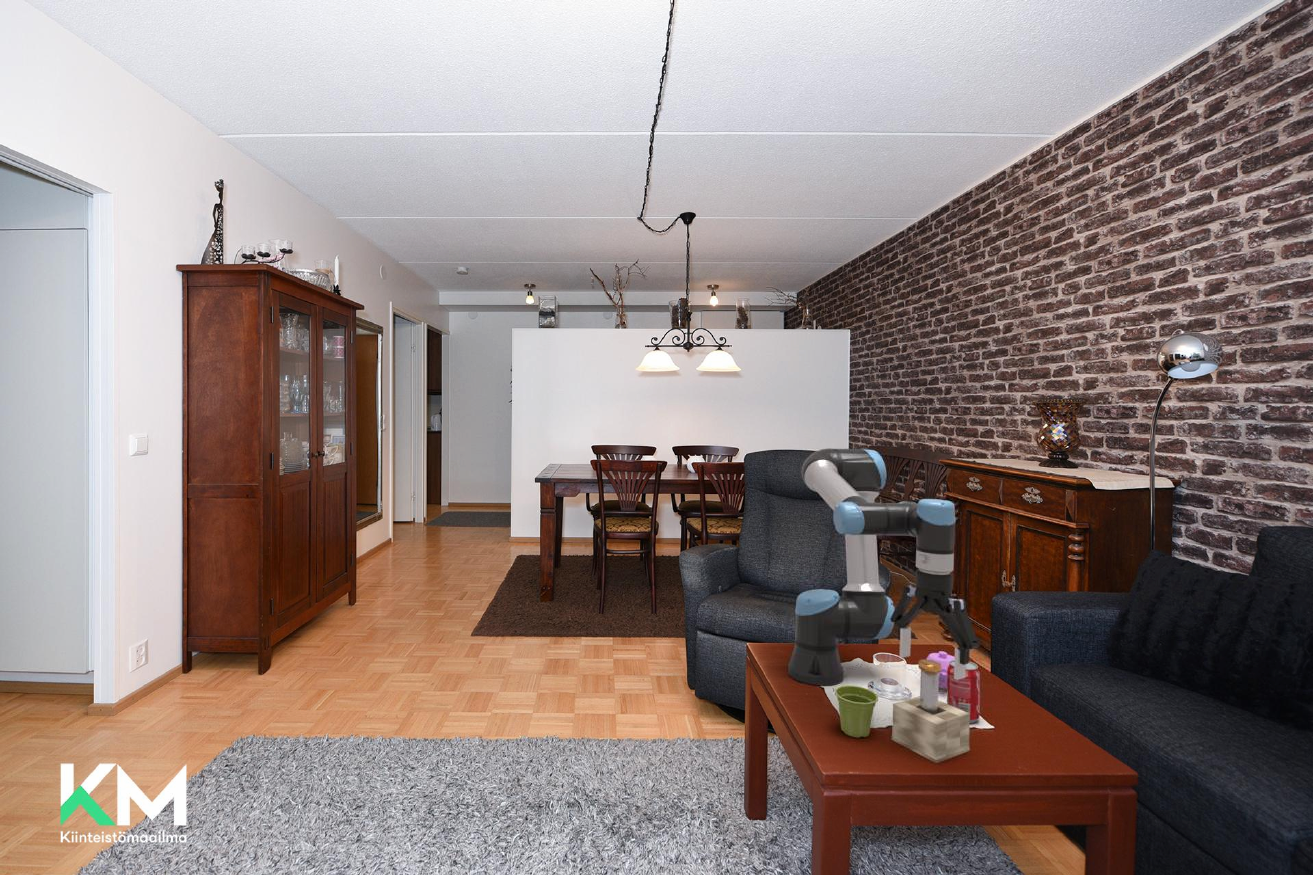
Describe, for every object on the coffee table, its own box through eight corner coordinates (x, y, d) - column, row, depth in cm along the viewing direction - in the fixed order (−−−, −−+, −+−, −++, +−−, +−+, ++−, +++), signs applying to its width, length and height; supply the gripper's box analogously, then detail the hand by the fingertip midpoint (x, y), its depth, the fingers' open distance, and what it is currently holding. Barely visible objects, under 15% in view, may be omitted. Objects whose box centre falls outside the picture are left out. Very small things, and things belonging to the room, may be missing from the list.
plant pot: (880, 728, 142) (881, 691, 142) (872, 746, 134) (873, 706, 134) (839, 718, 147) (840, 682, 147) (829, 734, 139) (830, 696, 139)
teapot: (961, 681, 172) (962, 647, 172) (965, 702, 158) (966, 665, 158) (921, 674, 176) (922, 642, 176) (921, 694, 162) (922, 659, 162)
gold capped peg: (912, 738, 136) (914, 661, 136) (925, 734, 139) (927, 658, 138) (930, 748, 132) (932, 668, 132) (944, 743, 135) (946, 664, 134)
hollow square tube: (891, 739, 137) (892, 703, 137) (924, 728, 143) (925, 694, 143) (936, 763, 127) (937, 724, 127) (969, 750, 133) (970, 713, 133)
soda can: (983, 726, 145) (984, 670, 145) (950, 722, 146) (951, 668, 146) (974, 713, 151) (975, 660, 151) (942, 709, 153) (944, 657, 153)
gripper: (876, 560, 144) (873, 650, 144) (977, 585, 122) (974, 691, 123) (898, 557, 148) (895, 645, 148) (1000, 581, 126) (996, 684, 126)
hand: (931, 666), depth 135 cm, fingers open, 13 cm apart
